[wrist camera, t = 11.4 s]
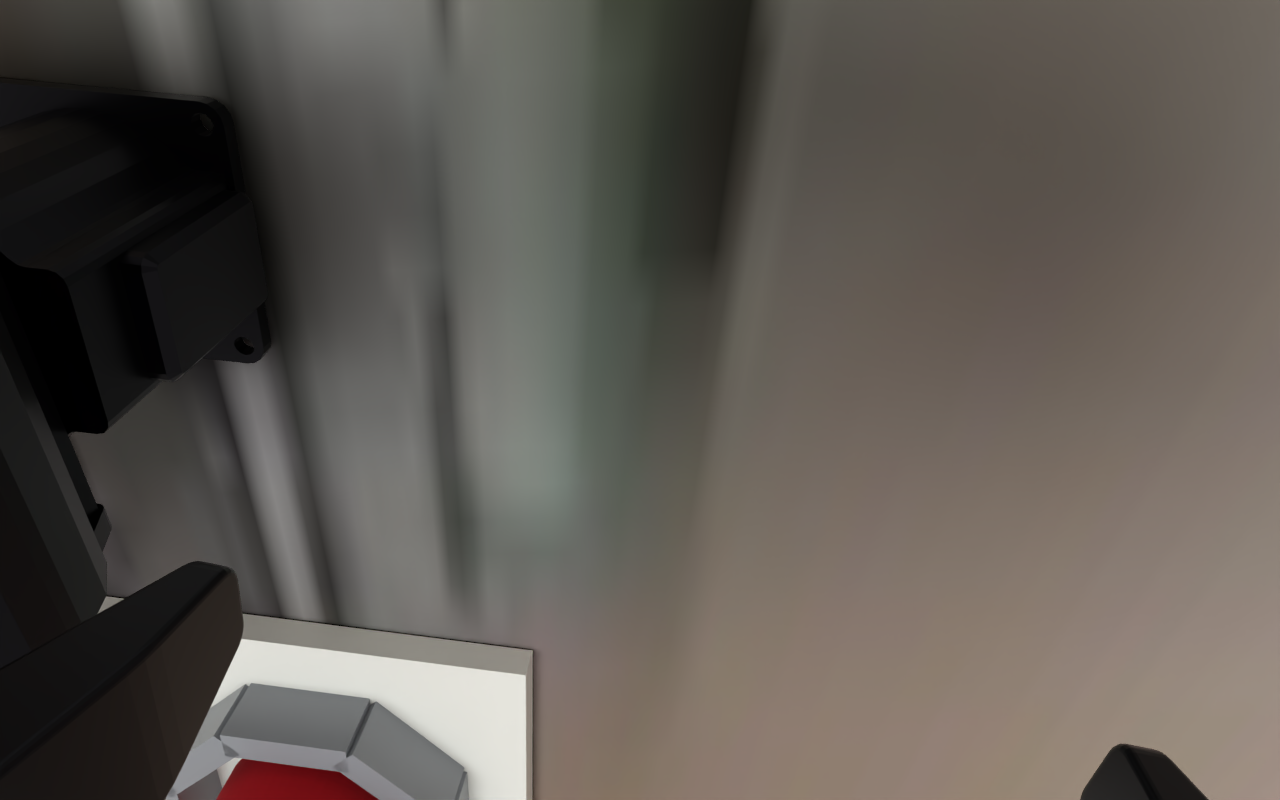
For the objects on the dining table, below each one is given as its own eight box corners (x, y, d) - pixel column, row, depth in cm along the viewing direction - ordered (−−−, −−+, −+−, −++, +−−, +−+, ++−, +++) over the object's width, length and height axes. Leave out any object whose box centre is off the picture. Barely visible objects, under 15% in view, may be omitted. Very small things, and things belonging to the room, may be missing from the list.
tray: (-68, 814, 37) (-130, 885, 34) (-218, 555, 29) (-310, 621, 27) (532, 899, 35) (515, 981, 33) (532, 650, 28) (510, 730, 25)
